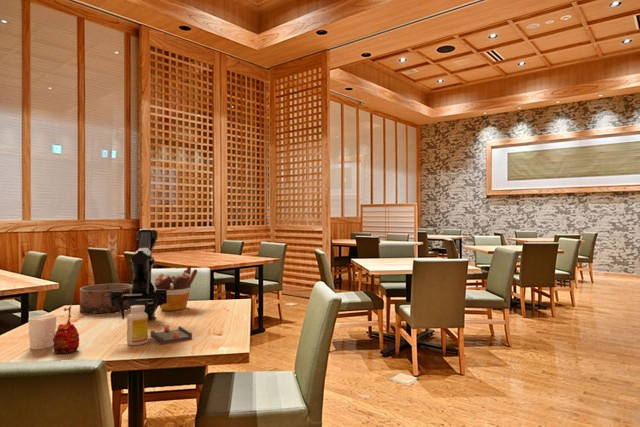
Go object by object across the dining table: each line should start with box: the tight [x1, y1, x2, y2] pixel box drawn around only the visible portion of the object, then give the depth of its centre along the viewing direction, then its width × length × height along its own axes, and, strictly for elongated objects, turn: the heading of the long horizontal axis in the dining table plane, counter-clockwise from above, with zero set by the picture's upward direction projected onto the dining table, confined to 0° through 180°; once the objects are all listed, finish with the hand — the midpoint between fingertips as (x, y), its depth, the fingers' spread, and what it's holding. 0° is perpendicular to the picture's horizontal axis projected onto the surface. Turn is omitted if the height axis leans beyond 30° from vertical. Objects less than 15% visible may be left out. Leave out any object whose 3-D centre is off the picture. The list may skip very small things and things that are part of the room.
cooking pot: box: [79, 282, 132, 315], centre depth 199 cm, size 30×22×11 cm
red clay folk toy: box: [52, 303, 80, 355], centre depth 136 cm, size 8×7×15 cm
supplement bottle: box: [126, 305, 149, 346], centre depth 146 cm, size 7×7×13 cm
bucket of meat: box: [154, 265, 198, 312], centre depth 201 cm, size 20×16×20 cm
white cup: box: [28, 313, 57, 351], centre depth 141 cm, size 8×8×10 cm
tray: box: [150, 325, 193, 345], centre depth 152 cm, size 12×11×3 cm
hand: (137, 317), depth 146 cm, fingers open, 9 cm apart
